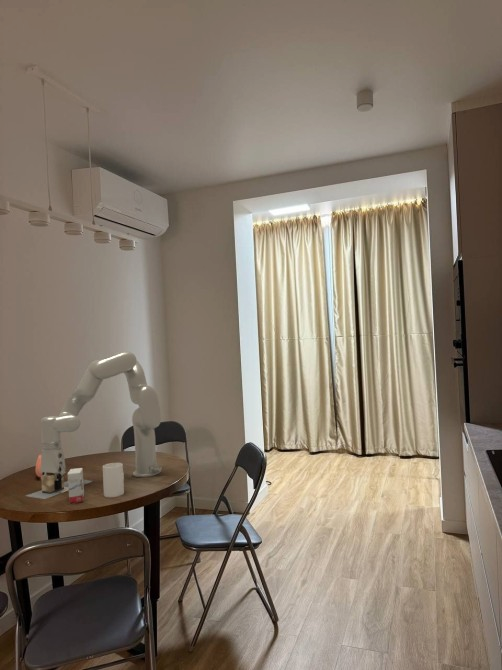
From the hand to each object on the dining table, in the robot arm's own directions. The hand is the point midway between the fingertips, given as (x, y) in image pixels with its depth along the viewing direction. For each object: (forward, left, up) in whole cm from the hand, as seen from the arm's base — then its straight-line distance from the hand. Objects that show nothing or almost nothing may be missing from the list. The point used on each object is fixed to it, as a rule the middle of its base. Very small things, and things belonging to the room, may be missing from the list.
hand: (53, 488), depth 202 cm
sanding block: (0, 0, -1) cm, 1 cm away
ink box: (-17, +3, -2) cm, 18 cm away
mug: (-25, -9, -2) cm, 27 cm away
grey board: (0, -4, -2) cm, 4 cm away
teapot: (+25, -18, -2) cm, 30 cm away
